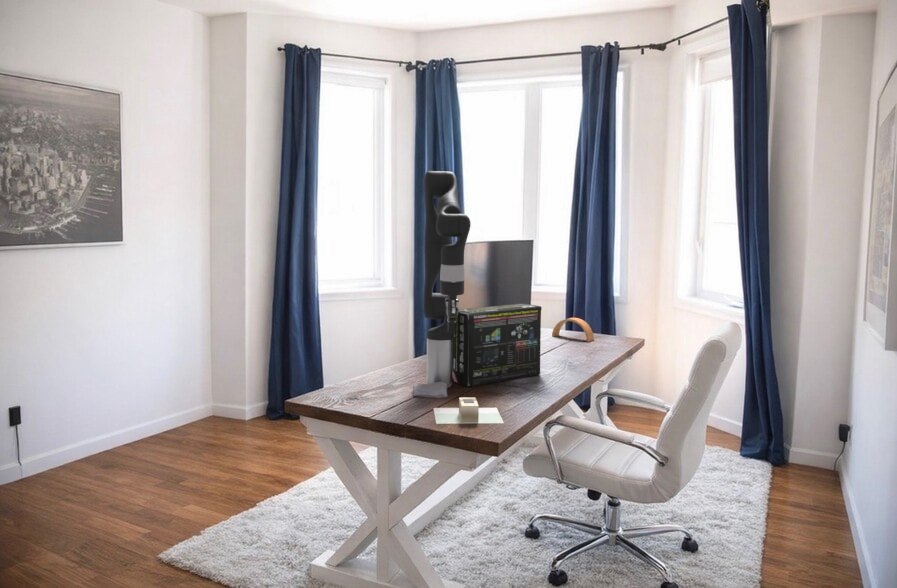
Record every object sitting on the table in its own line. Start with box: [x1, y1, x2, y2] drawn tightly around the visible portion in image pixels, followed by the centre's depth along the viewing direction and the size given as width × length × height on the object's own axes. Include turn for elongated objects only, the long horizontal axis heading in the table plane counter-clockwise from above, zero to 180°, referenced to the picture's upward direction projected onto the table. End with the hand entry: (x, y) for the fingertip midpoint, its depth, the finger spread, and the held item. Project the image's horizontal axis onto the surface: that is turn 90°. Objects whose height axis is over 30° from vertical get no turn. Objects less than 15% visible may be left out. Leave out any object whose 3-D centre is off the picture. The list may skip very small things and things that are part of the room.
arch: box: [551, 317, 595, 343], centre depth 348 cm, size 6×20×10 cm, turn 51°
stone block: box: [412, 382, 448, 399], centre depth 241 cm, size 12×5×10 cm
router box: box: [452, 302, 543, 387], centre depth 265 cm, size 36×11×27 cm, turn 125°
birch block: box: [458, 397, 480, 422], centre depth 214 cm, size 5×5×9 cm
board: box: [433, 407, 505, 425], centre depth 217 cm, size 16×20×1 cm
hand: (451, 333), depth 223 cm, fingers closed
